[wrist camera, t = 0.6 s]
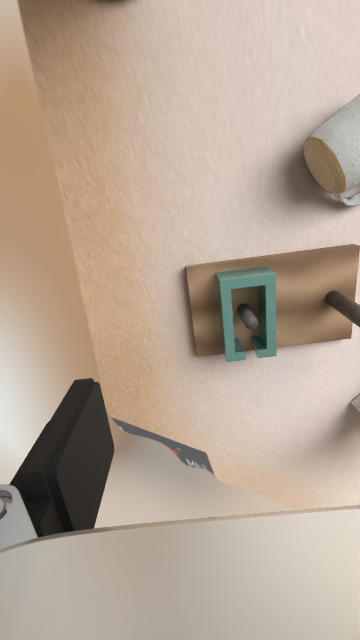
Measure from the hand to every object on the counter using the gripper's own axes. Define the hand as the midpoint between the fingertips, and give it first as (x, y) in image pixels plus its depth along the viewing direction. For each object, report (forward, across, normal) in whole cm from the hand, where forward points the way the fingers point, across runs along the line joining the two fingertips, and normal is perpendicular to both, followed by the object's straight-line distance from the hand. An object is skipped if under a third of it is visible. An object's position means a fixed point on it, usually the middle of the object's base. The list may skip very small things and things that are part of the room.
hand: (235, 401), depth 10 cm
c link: (+31, -6, +7) cm, 32 cm away
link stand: (+32, -10, +7) cm, 34 cm away
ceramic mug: (+32, -19, -10) cm, 38 cm away
